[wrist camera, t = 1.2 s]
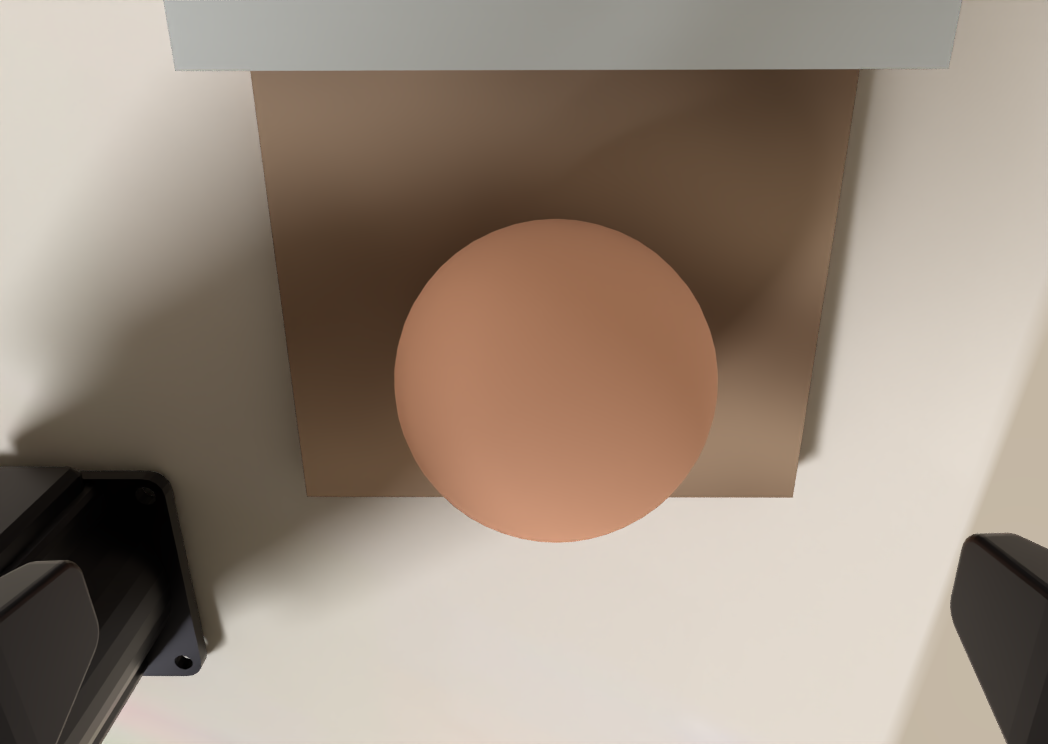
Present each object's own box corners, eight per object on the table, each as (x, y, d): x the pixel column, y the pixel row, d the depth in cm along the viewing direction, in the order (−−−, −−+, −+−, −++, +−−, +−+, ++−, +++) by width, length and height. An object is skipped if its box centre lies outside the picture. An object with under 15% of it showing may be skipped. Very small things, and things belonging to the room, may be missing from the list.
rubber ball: (675, 443, 19) (735, 614, 13) (424, 443, 19) (380, 613, 13) (696, 190, 16) (780, 270, 11) (409, 190, 16) (347, 271, 11)
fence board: (780, 476, 20) (844, 590, 16) (317, 475, 20) (262, 588, 16) (973, -824, 11) (1223, -1309, 7) (155, -814, 12) (-54, -1284, 7)
